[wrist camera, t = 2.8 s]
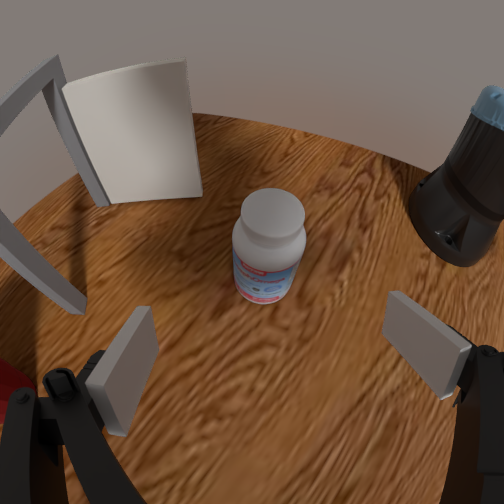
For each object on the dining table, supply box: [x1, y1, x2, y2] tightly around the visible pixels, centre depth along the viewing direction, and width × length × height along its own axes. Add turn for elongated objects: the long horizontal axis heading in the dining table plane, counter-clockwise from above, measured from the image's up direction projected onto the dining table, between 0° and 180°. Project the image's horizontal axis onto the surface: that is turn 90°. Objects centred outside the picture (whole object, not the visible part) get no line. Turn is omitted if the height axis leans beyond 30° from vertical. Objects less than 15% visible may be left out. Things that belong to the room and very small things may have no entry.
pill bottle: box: [232, 188, 306, 304], centre depth 25 cm, size 6×6×11 cm
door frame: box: [0, 55, 111, 315], centre depth 22 cm, size 2×18×22 cm, turn 3°
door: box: [62, 57, 203, 204], centre depth 27 cm, size 13×2×18 cm, turn 93°
